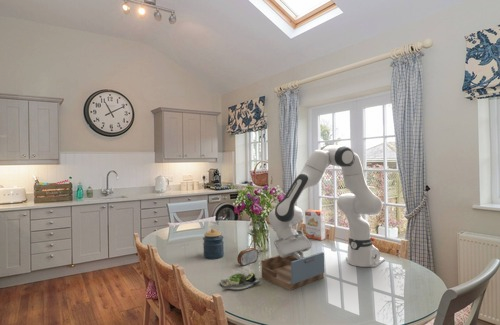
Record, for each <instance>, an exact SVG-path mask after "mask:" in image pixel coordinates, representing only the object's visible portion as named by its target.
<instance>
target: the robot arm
mask: <svg viewBox="0 0 500 325" xmlns="http://www.w3.org/2000/svg"><path fill="white" fill-rule="evenodd" d="M329 166H334V167H335V166H338V167H340V168H341V174H342V179H343V184H344V187H345V188H346V189H347V190H348V191H350V192H351V193H343V194H340V195H339V197H338V198H337V202H336V203H337V208H338V209H339V210H340V211H341V212H342V213H343V214H344V216H345V217H346V218H345V219H346V220H347V223H348V233H349V236H348V246H347V254H346V255H347V256H345V259H346V261H347V264H349V265H352V266H355V267H362V268H364V267H367V268H368V267H371V268H377V267H378V266H379V265H380V264H382V263H384V262H385V258H384V257H382V256H381V255H380V250H379V249H378V248H377V247H376V246H375V245H374V244H373V242H375V240H376V239H375V237H371V226H370V224H369V222H368V221H367V220H365V219H364V218H363V216H362V215H368V216H372V215H373V216H374V215H378V214H380V213H381V212H382V209H383V201H382V199H381V197H379V196H377V195H376V194H375V193H374V192H373V191H372V190H371V189H370V188H369V186H368V184H367V182H366V178H365V172H364V169H363V165H362V162H361V159H360V156H359V154H357V153H356V152H354V151H353V149H351V148H350V147H349V146H345V145H341V144H340V145H339V144H326V145H324V146H322V147H321V148H320V149H315V150H313V151H312V153H311V154H310V155H309V157H308V158H307V160H306V161H305V163H304V166H303V167H302V170H301V171H300V173H299V174H298V175H297V177H295V179H294V181H293V182H292V183H291V186H290V187H289V189H288V190H287V192H286V193H285V195H284V196H283V198H282V199H281V200H280V201H279V202H278V203H277V204H276V206H275V208H274V209H272V210H271V211H270V212H269V213H268V216H267V219H268V222H269V224H270V227H271V228H272V230H273V231H274V232H275V233H276V234H275V235H276V237H277V238H278V239H275V240H274V242H273V245H274V247H275V249H276V251H277V254H278V255H279V256H280V257H281V258H284V257H288V256H291V255H293V256H294V257H295V258H296V259H301V258H305V256H304V252H308V251H310V250H311V248H312V243H311V242H310V240H309V238H308V237H306V234H305V235H304V231H303V230H299V229H294V228H293V226H295V225H297V224H299V223H300V222H302V220H303V219H304V212H303V209H302V208H301V207H299V206H298V205H296V203H297V201H298V200H299V198H300V196H301V195H302V193H303V191H304V190H306V189H308V188H310V187H315V186H317V185H318V184H320V182H321V181H322V179H323V177H324V176H325V173H326V172H327V171H326V170H327V168H328V167H329Z"/></svg>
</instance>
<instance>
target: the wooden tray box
mask: <svg viewBox="0 0 500 325" xmlns="http://www.w3.org/2000/svg"><path fill="white" fill-rule="evenodd" d="M295 260H298V259H296V258H295V257H294V256H293V255H291V256H288V257H284V258H281V257H280V256H279V254H278V255H275V256H272V257H267V258H265V259H262V260H261V261H260V262H261V279H263V280H265V281H267V282H270V283H272V284H275V285H277V286H279V287H281V288H283V289H285V290H288V291H291V290H294V289H296V288H299V287H302V286H304V285H307V284H310V283H312V282H314V281H317V280H319V279H322V278H324V276H325V275H324V274H325V273H322V274H319V275H317V276H314V277H311V278H309V279H306V280H303V281H301V282H298V283H295V284H291V262H292V261H295Z"/></svg>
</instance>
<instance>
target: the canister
mask: <svg viewBox="0 0 500 325" xmlns="http://www.w3.org/2000/svg"><path fill="white" fill-rule="evenodd" d="M222 234H223V232H221V231H220V230H216V229H215V228H211V229H210V230H209V231H206V232H205V233H204V234H203V236H204V237H203V238H202V241H203V243H202V245H203V253H202V254H203V258H204V259H206V260H207V259H208V260H218V259H221V258H223V257H224V256H225V250H224V243H225V242H224V236H223V235H222Z"/></svg>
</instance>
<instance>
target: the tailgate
mask: <svg viewBox="0 0 500 325" xmlns="http://www.w3.org/2000/svg"><path fill="white" fill-rule="evenodd" d="M322 273H324V274H325V252H318V253H315V254H312V255H309V256H308V255H307V256H304V258H301V259H298V260H295V261H292V262H291V284H295V283H298V282H301V281H303V280H306V279H309V278H311V277H314V276H317V275H319V274H322Z"/></svg>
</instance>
